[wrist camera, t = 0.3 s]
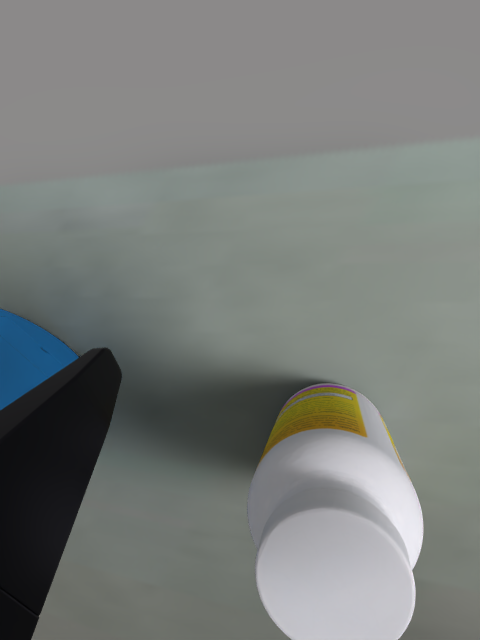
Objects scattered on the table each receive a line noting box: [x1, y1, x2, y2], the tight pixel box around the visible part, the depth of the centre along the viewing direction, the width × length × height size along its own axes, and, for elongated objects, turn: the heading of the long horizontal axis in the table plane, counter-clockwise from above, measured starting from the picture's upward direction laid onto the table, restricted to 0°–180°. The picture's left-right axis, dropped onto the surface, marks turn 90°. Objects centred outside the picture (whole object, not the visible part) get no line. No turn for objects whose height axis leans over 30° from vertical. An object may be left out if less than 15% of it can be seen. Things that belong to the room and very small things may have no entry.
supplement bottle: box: [247, 383, 423, 640], centre depth 17 cm, size 7×7×13 cm
